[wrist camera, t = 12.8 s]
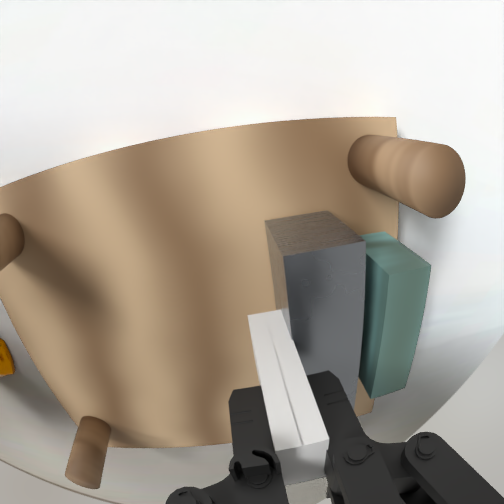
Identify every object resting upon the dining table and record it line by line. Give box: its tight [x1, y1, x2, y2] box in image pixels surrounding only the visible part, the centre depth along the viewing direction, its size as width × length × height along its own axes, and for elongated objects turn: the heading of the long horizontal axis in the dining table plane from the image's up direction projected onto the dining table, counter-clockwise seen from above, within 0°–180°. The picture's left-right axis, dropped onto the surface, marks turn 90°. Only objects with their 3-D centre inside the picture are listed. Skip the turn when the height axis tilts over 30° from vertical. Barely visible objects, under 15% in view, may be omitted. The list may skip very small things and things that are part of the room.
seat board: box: [0, 117, 465, 489], centre depth 14 cm, size 22×20×6 cm
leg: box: [265, 210, 366, 478], centre depth 14 cm, size 15×4×4 cm, turn 9°
